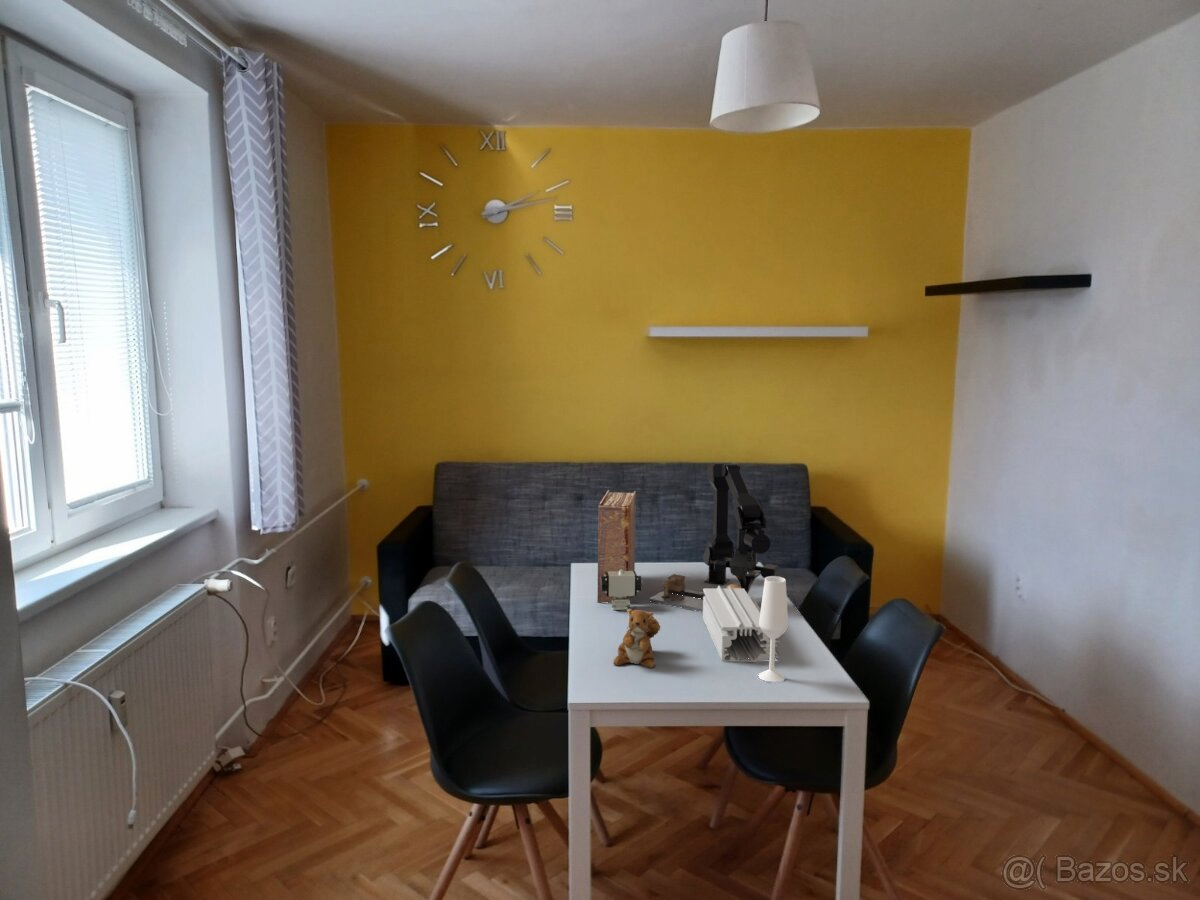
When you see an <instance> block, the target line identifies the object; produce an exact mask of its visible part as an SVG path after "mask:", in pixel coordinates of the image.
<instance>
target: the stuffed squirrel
mask: <svg viewBox="0 0 1200 900" xmlns="http://www.w3.org/2000/svg"><path fill="white" fill-rule="evenodd" d="M626 612H627V613H628V618H629V620H628V626H627V627H626V633H625V635H624V636H623V638H622V642H621V644H619V646H618V649H617V656H616V657H615V658H614V659H613V662H612V663H613V665H615V666H620V665H624V664H627V663H629V664H633V663H634V664H633V665H639V663H640V665H642V666H644V667H647V668H649V667H650V669H651V668H652V667H653V668H654V667H655V665H656V663H655V655H654V653H653V652H654V651H653V646H652V642H651V638H654V637H655V636H656V635H657V634H658V633H659V631H661V627H662V626H661V625H660V622H659V621H658V620H657V619H656V618H655V616H654V615H655V613H654V612H653V611H649V612H647V611H646V610H642V609H634V610H632V609H631V608H628V610H626Z"/></svg>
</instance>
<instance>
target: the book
mask: <svg viewBox="0 0 1200 900" xmlns="http://www.w3.org/2000/svg"><path fill="white" fill-rule="evenodd" d="M636 497H637V491H636V490H634V491H633V492H615V491H614V492H611V491H610V489H608V490H607V491H606V493H605V495H604V496H603V498H602V499H601V501H600V502H599V504H598V506H597V507H598V508H597V512H598V513H597V514H598V515H597V517H598V518H597V519H598V520H597V521H598V524H597V525H598V526H597V603H598V602H608V603H607V604H611V601H612V599H613V598H614V597H615V596H606V593H605V591H601V587H600V579H601V576H604V575H605V571H619V570H620V569H622V570H623V571H635V572H636V569H635V568H636V567H635V565H636V564H635V562H636V560H635V559H636V513H637V512H636V505H637V502H636V500H637V498H636ZM626 597H627V599H629V600H630V597H631V596H626Z"/></svg>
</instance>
